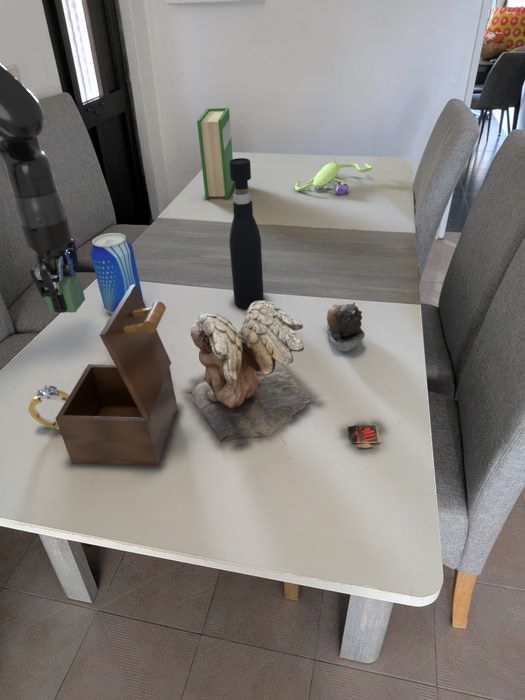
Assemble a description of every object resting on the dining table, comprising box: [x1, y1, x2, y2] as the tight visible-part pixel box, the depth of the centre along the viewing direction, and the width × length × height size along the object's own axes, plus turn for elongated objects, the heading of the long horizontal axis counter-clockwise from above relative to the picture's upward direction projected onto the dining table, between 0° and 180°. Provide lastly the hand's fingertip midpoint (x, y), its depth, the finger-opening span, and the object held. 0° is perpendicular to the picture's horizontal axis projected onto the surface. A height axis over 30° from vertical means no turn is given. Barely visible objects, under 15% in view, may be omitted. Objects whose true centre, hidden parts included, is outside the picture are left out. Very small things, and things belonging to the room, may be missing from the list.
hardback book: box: [196, 107, 235, 200], centre depth 168 cm, size 18×7×24 cm, turn 176°
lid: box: [99, 284, 172, 419], centre depth 70 cm, size 14×13×5 cm
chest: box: [55, 363, 178, 467], centre depth 78 cm, size 13×13×9 cm
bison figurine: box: [326, 302, 366, 352], centre depth 96 cm, size 12×7×10 cm, turn 3°
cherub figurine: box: [186, 300, 315, 448], centre depth 81 cm, size 18×18×18 cm
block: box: [44, 275, 86, 314], centre depth 96 cm, size 5×5×5 cm
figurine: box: [294, 160, 373, 195], centre depth 173 cm, size 18×27×6 cm
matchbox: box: [346, 423, 380, 449], centre depth 78 cm, size 5×5×1 cm
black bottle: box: [228, 157, 265, 310], centre depth 104 cm, size 6×6×30 cm
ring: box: [27, 384, 70, 431], centre depth 80 cm, size 7×3×8 cm, turn 86°
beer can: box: [90, 232, 144, 315], centre depth 108 cm, size 8×8×16 cm
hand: (67, 303), depth 98 cm, fingers closed on block, 5 cm apart
